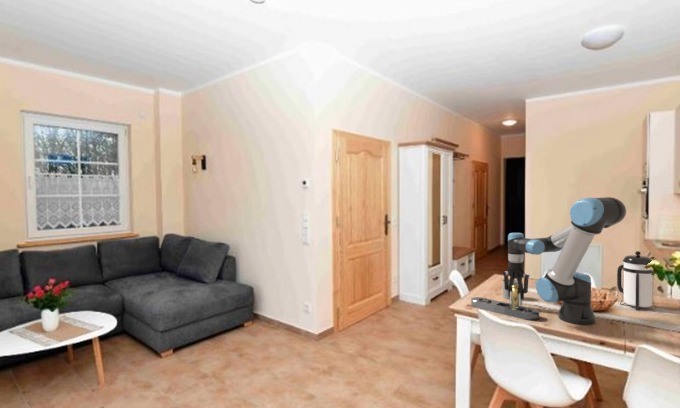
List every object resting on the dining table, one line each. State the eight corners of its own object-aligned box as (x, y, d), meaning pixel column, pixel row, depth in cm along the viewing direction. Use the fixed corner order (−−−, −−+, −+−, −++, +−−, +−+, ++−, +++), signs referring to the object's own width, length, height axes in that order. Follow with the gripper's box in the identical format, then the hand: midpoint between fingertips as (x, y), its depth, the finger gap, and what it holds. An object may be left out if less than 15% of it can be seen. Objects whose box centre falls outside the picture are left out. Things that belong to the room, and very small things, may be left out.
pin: (522, 307, 197) (522, 285, 196) (518, 309, 194) (518, 287, 193) (513, 305, 200) (513, 284, 200) (509, 307, 197) (509, 285, 197)
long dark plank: (542, 317, 181) (542, 309, 181) (535, 321, 175) (535, 313, 175) (476, 302, 207) (476, 295, 207) (468, 305, 202) (468, 298, 201)
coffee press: (657, 306, 194) (658, 250, 193) (654, 313, 183) (655, 254, 182) (617, 299, 207) (617, 247, 206) (612, 306, 196) (612, 251, 195)
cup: (500, 297, 215) (500, 281, 215) (505, 294, 221) (505, 278, 221) (515, 300, 209) (515, 283, 209) (520, 297, 215) (520, 280, 215)
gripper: (535, 262, 192) (535, 306, 193) (503, 258, 205) (503, 299, 206) (529, 264, 187) (529, 309, 188) (497, 260, 200) (497, 302, 201)
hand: (516, 304), depth 197 cm, fingers closed on pin, 4 cm apart
